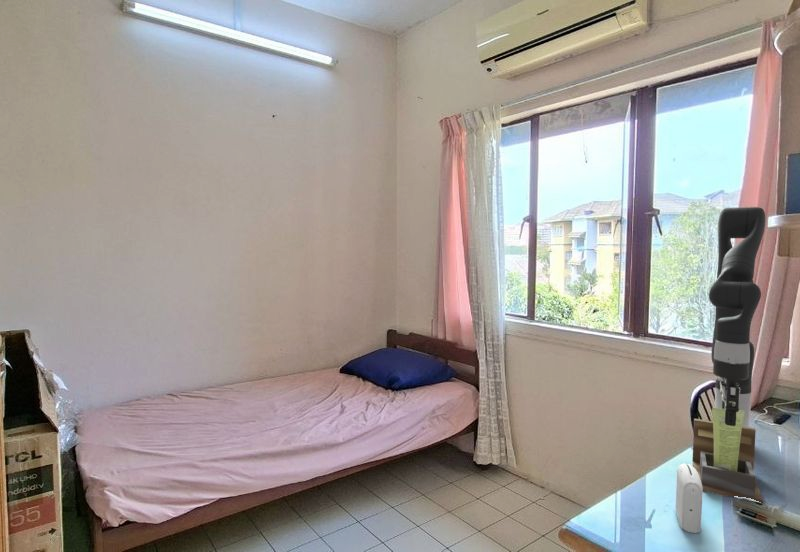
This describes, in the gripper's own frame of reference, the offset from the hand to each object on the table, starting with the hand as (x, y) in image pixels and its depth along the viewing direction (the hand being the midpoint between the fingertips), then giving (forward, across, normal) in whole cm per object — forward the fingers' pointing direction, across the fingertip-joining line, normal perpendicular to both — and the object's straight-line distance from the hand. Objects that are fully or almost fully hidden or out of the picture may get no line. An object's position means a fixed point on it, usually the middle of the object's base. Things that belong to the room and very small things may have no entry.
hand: (728, 419), depth 119 cm
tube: (+17, 0, 0) cm, 17 cm away
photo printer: (+18, +23, -9) cm, 31 cm away
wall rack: (+18, -2, 0) cm, 18 cm away
